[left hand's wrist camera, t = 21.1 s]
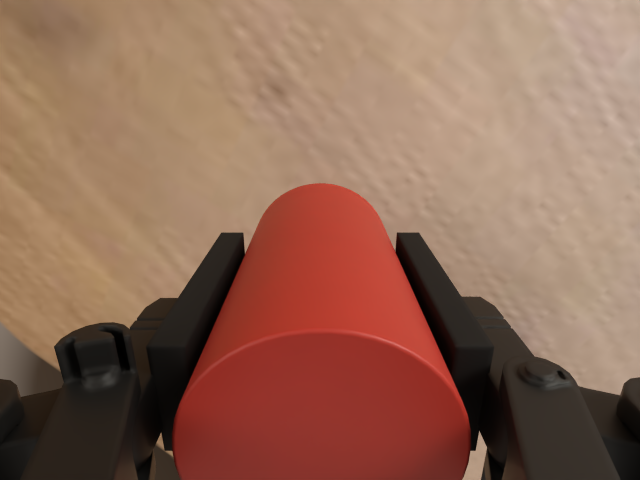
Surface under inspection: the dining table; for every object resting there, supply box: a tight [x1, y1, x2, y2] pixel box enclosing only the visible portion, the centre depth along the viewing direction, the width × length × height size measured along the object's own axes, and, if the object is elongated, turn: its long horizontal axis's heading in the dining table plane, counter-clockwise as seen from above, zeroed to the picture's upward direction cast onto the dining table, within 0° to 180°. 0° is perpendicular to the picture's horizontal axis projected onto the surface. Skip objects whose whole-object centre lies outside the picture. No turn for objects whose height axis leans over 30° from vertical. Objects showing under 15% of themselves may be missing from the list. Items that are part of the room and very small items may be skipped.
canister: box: [172, 184, 471, 480], centre depth 12 cm, size 5×5×10 cm
